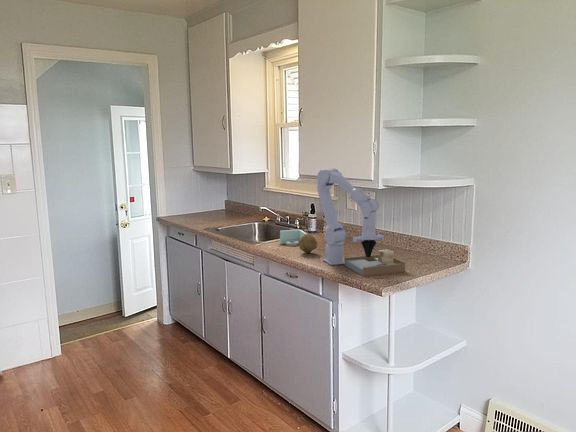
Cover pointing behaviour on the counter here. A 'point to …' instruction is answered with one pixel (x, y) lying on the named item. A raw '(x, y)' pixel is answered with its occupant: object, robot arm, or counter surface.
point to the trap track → (373, 265)
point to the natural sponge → (308, 243)
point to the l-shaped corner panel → (291, 237)
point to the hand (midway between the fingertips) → (367, 256)
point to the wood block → (385, 256)
